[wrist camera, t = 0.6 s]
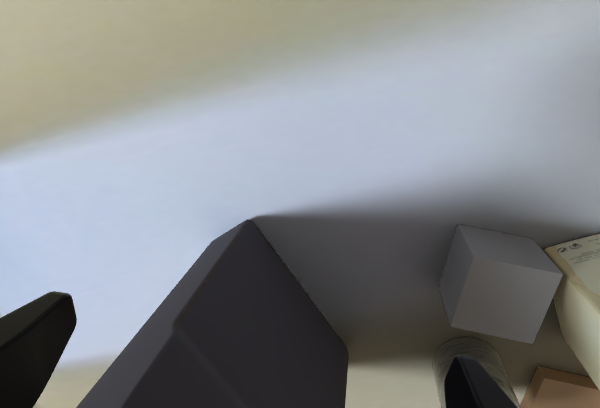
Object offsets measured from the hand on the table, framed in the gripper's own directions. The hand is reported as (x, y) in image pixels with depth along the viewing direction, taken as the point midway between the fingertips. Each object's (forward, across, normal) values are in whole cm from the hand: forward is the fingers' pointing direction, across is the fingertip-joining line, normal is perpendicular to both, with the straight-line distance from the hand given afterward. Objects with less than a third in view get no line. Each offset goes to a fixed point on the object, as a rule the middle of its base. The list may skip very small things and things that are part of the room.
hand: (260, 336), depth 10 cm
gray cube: (+13, -11, +6) cm, 18 cm away
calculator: (+13, 0, +11) cm, 17 cm away
